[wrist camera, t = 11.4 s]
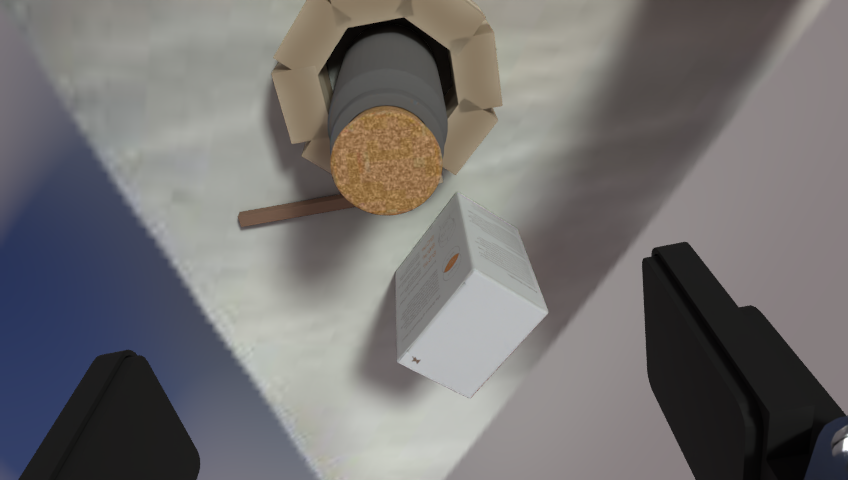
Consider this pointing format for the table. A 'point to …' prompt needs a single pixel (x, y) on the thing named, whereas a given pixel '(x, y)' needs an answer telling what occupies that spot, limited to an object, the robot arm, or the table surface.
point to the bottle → (387, 122)
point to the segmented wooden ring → (369, 3)
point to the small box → (465, 298)
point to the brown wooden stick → (294, 210)
